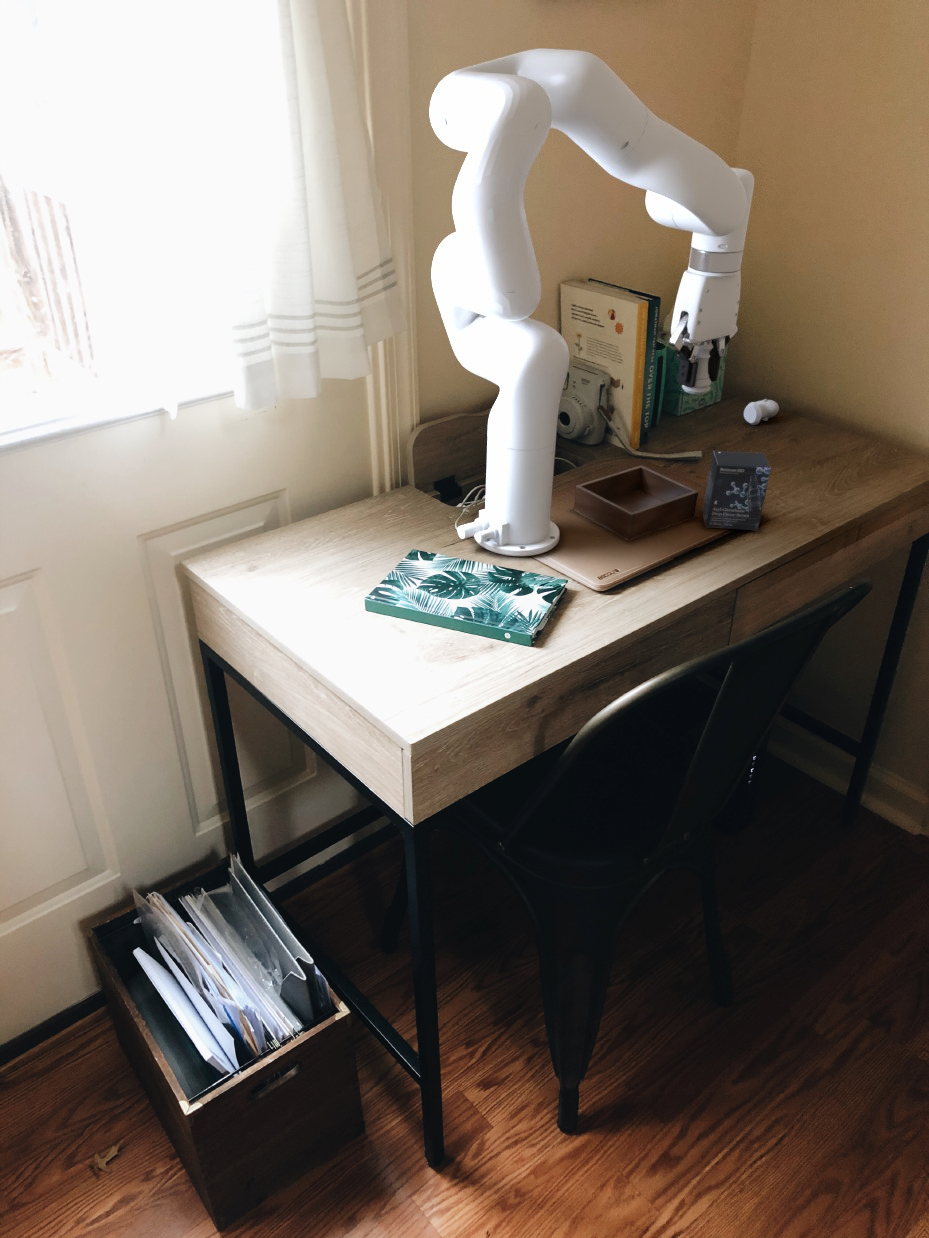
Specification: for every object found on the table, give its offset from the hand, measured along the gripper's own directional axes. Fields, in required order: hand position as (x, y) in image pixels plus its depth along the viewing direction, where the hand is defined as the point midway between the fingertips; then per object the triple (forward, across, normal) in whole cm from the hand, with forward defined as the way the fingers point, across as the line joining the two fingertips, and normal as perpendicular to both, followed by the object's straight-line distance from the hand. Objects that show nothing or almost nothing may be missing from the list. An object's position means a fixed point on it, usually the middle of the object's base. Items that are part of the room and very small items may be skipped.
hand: (697, 381), depth 150 cm
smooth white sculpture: (+17, -33, -12) cm, 39 cm away
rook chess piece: (+2, 0, 0) cm, 2 cm away
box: (+17, +5, +15) cm, 23 cm away
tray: (+17, +16, +4) cm, 24 cm away
